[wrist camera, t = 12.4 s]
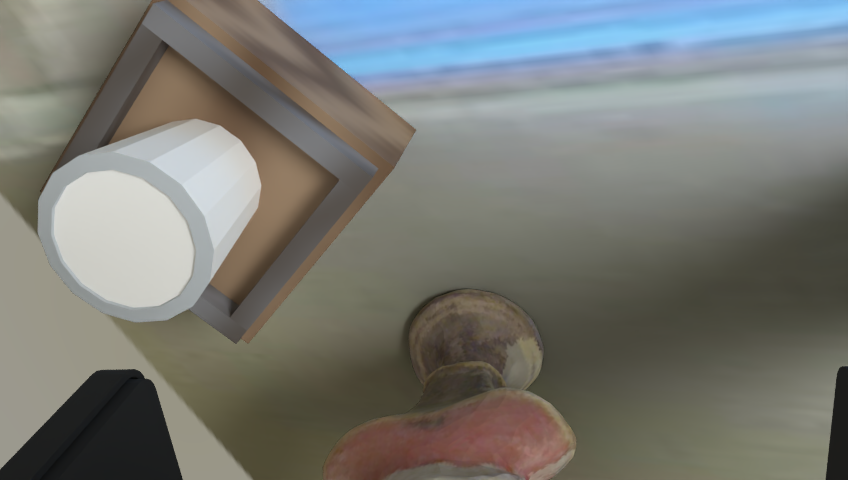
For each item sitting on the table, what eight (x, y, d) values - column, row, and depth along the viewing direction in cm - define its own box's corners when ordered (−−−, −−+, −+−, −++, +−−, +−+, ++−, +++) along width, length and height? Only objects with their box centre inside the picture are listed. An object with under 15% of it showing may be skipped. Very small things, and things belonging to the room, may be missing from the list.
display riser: (416, 129, 38) (389, 176, 32) (285, 288, 43) (239, 357, 37) (219, -31, 37) (148, -16, 30) (106, 153, 41) (24, 200, 35)
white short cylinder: (170, 265, 36) (91, 342, 30) (101, 131, 34) (0, 184, 28) (299, 227, 35) (243, 300, 28) (234, 83, 32) (158, 127, 26)
